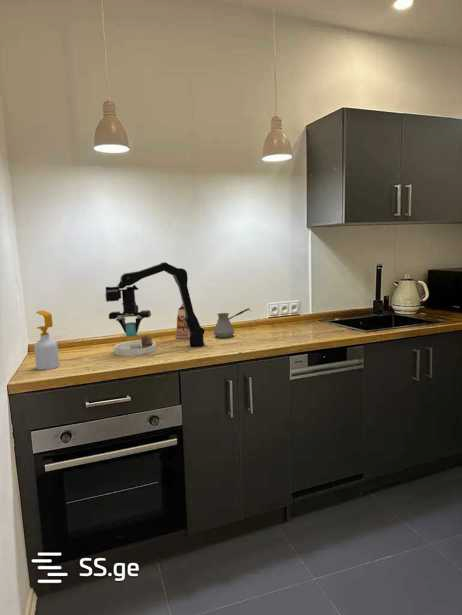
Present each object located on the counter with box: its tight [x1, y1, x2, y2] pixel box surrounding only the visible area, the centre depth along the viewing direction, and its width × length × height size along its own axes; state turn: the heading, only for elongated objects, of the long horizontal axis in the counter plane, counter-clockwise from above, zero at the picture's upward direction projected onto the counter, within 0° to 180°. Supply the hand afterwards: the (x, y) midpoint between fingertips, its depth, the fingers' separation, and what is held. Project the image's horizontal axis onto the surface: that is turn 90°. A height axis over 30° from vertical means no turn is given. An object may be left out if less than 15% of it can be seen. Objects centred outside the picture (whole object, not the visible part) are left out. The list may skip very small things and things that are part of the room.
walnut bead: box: [140, 335, 153, 348], centre depth 198 cm, size 5×5×6 cm
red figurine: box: [174, 303, 191, 342], centre depth 219 cm, size 9×9×20 cm
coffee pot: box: [213, 307, 251, 339], centre depth 223 cm, size 21×12×15 cm, turn 103°
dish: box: [113, 340, 158, 357], centre depth 199 cm, size 20×20×3 cm
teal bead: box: [125, 321, 138, 338], centre depth 191 cm, size 5×5×6 cm
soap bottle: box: [33, 310, 60, 371], centre depth 173 cm, size 9×9×25 cm
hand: (131, 332), depth 192 cm, fingers closed on teal bead, 5 cm apart
